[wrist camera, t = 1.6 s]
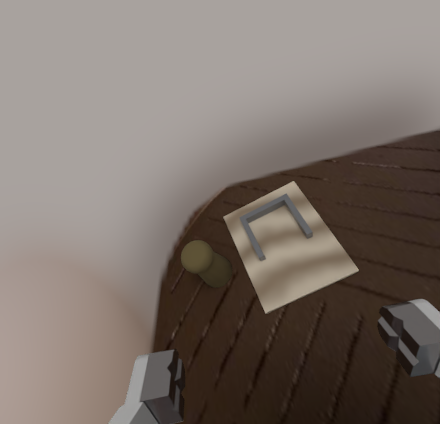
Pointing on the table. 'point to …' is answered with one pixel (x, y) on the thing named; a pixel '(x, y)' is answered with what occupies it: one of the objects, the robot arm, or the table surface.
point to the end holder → (267, 209)
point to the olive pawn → (206, 263)
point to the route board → (288, 251)
